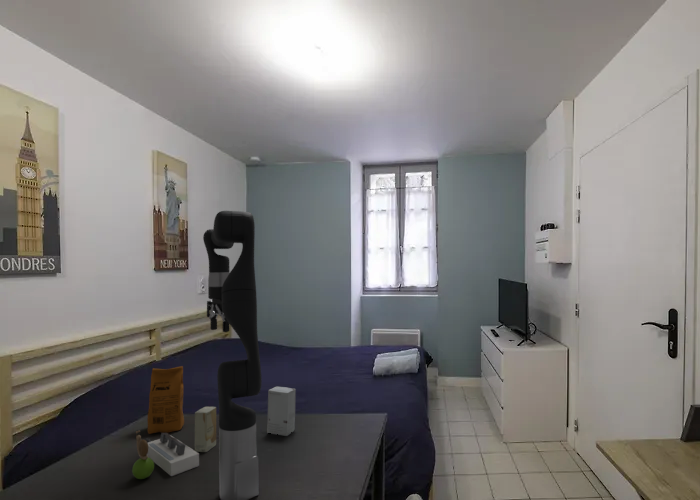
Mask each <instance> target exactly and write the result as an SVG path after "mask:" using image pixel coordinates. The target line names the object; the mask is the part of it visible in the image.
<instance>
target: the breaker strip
mask: <svg viewBox="0 0 700 500" xmlns="http://www.w3.org/2000/svg"><path fill="white" fill-rule="evenodd" d="M170 436H171V437H173V438H175V437H174V436H172V435H170ZM144 440H146V441H147V443H148V453H147V456H148V457H149V458H151V459H152V460H153V462H154V464H155V465H157V466H158V467H160V469H162V471H164V472H166V473H167V474H168V475H169V476H170V477H173V476H176V475H179V474H181V473H184V472H187V471H189V470H191V469H194V468H197V467H200V453H199V452H197V451H195V449H193V448H191V447H190V446H188V445H186V444H185V443H183V442H182V441H181V440H179V439H177V440H178V441H179V442H181V443H183V444H185V451H184V454H177V453H176V448H177V446H176V447H175V448H169V447H167V446H168V442H166V443H162V442H160V438H158V439H155V440H151V439H150V438H149V437H146V438H145V439H144ZM168 441H169V440H168Z"/></svg>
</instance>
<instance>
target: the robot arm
mask: <svg viewBox="0 0 700 500" xmlns="http://www.w3.org/2000/svg"><path fill="white" fill-rule="evenodd" d="M254 219H255V218H254V215H253V214H252V213H251V212H248V211H239V210H238V211H237V210H221V211H219V212H217V214H216V215H215V217H214V221H213V229H212V228H211V229H207V230H205V232H203V236H202V237H203V238H202V239H203V243H204V247H205V249H206V253H207V254H206V255H207V257H208V279H207V282H208V283H207V284H208V286H207V287H208V291H207V293H208V299H209V300H207V301H206V318H208V319H209V320H210V330H211V331H214V330H217V329H218V319H217V318H218V316H220V317H221V319H222V332H223V333H230V327H231V328H232V329H233V330H234V333H236V335H237V336H238V338H239V339H240V342H241V344H242V345H243V347H244V350H245V353H246V357H247V358H246V359H239V360H229V361H224V362H223V361H222V362H221V363H220V364H219V365H218V367H217V373H216V374H217V375H216V376H217V377H216V378H217V390H218V391H217V393H218V395H217V396H218V475H219V476H218V477H219V479H218V480H219V481H218V482H219V483H218V484H219V485H218V486H219V489H218V490H219V491H218V492H219V494H218V495H219V499H220V500H251V499H252V498H255V497H257V496H259V491H260V490H259V488H260V487H259V486H260V485H259V456H258V455H257V412H256V411H255V410H254V409H253V408H251V407H249V406H244V405H240V404H237V403H235V402H234V401H233V400H232V399H239V398H245V397H254V396H257V395H259V394H260V392H261V389H262V369H261V367H262V366H261V359H260V358H261V357H260V348H259V346H260V345H259V337H258V300H257V285H256V271H255V232H256V231H255V227H256V226H255V220H254ZM234 244H242V245H241V246H242V248H241V252H240V255H239V257H238V259H237V261H236V263H235V265H234V266H233V267H232V269H231V270H230V258H229V257H228V256H226V255H221V254H218V253H217V252H216V250H229V249H232V248H233V246H234Z"/></svg>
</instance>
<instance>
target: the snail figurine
mask: <svg viewBox="0 0 700 500" xmlns="http://www.w3.org/2000/svg"><path fill="white" fill-rule="evenodd" d="M139 433H141V430H140V429H139V430H138V431H135V434H137V435H136V437H135V440H136V449H137V455H138V456H139V458H138V459H137V460H136V461H135V462H134V463H133V465H132V469H131V472H132V476H133V477H134V478H136V479H137V480H145V479H146V478H149V477H150V476H151V475H152V473H153V472H154V469H155V462H153V460H152V459H151V458H149V457H148V456H147V453H148V443H147V441H146V440H145V439H142V435H140V434H139Z"/></svg>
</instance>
